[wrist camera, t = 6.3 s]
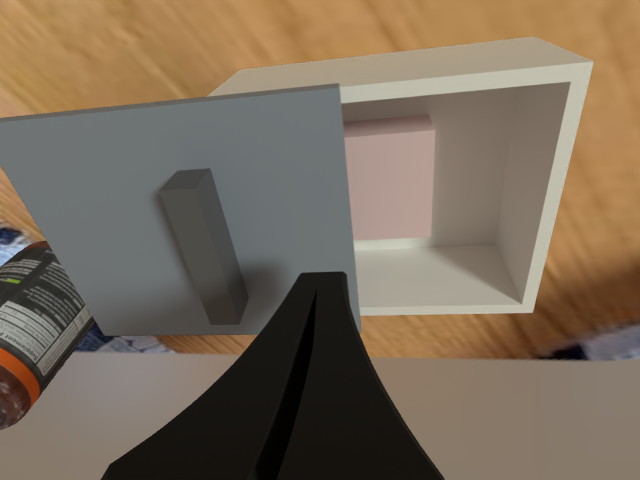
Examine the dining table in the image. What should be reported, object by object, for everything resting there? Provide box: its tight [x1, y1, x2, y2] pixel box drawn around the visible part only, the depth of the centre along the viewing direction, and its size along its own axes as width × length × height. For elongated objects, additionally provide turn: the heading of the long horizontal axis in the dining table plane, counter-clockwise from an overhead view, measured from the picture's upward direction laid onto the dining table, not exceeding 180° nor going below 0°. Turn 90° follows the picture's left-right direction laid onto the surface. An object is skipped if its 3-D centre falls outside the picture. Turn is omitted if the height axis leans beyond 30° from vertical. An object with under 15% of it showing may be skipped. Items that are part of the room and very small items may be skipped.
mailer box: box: [207, 37, 594, 316], centre depth 17 cm, size 12×10×5 cm
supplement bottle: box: [0, 241, 96, 430], centre depth 21 cm, size 6×6×11 cm
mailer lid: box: [0, 83, 361, 336], centre depth 15 cm, size 12×10×2 cm
